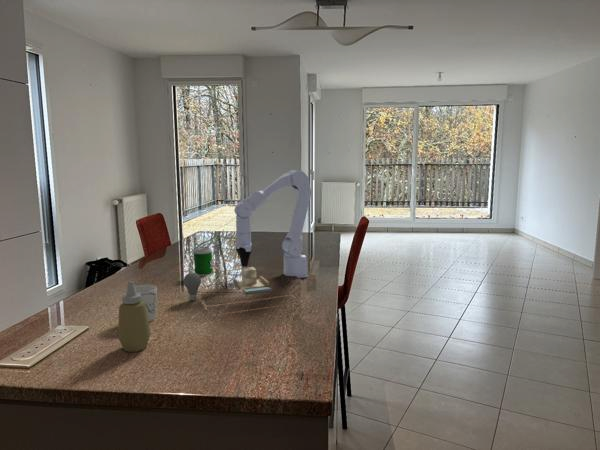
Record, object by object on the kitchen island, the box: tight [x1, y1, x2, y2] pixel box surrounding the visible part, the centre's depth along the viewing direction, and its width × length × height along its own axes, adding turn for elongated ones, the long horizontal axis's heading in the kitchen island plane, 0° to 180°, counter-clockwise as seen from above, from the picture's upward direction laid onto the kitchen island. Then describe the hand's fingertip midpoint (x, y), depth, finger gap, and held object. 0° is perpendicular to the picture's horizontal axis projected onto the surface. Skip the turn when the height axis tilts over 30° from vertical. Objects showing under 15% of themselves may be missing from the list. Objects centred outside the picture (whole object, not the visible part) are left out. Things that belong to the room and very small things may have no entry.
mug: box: [134, 284, 158, 323], centre depth 136 cm, size 11×8×10 cm
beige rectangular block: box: [241, 266, 258, 285], centre depth 172 cm, size 4×4×6 cm
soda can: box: [193, 246, 214, 277], centre depth 187 cm, size 8×8×12 cm
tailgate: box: [243, 286, 273, 295], centre depth 163 cm, size 9×1×6 cm
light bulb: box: [182, 271, 202, 302], centre depth 155 cm, size 6×6×10 cm
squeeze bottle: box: [117, 281, 151, 353], centre depth 116 cm, size 8×8×18 cm
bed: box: [232, 275, 270, 290], centre depth 171 cm, size 12×10×2 cm
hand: (244, 265), depth 178 cm, fingers closed
